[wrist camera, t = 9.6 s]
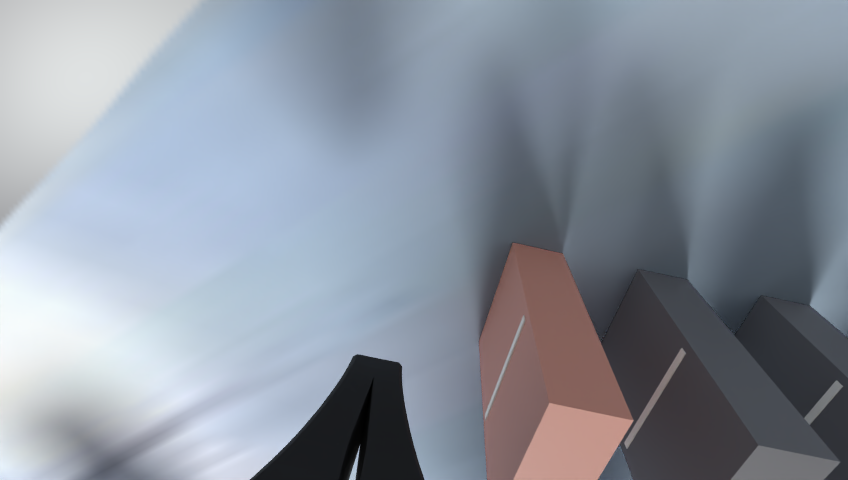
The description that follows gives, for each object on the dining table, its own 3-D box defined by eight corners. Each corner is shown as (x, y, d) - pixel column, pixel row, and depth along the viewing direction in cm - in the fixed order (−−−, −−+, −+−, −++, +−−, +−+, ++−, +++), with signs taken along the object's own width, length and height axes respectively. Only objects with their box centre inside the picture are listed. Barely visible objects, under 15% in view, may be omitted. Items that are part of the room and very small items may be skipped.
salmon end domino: (477, 341, 20) (488, 528, 13) (511, 242, 17) (547, 402, 10) (524, 351, 20) (560, 543, 13) (563, 253, 18) (635, 421, 10)
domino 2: (699, 386, 20) (830, 594, 13) (760, 295, 18) (960, 486, 11) (744, 396, 20) (899, 607, 13) (810, 305, 18) (1043, 503, 11)
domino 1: (590, 364, 20) (662, 561, 13) (637, 268, 18) (756, 444, 11) (635, 373, 20) (732, 575, 13) (688, 280, 18) (842, 462, 11)
